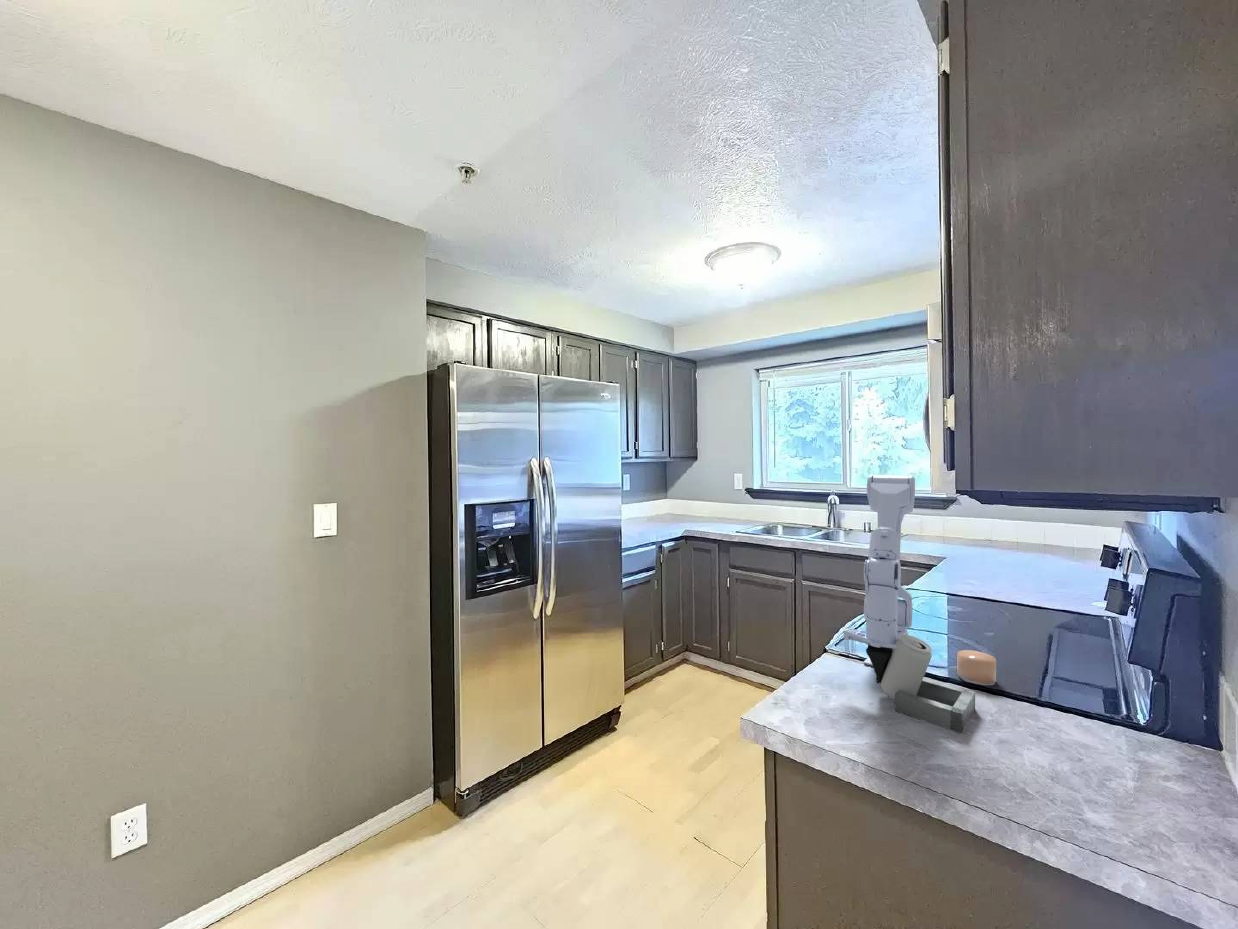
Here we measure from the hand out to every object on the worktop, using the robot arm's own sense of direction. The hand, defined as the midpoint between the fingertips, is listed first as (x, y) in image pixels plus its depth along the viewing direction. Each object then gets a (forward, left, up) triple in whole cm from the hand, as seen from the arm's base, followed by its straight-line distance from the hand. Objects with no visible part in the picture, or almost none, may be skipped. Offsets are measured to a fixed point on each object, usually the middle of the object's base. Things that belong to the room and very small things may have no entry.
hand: (880, 681), depth 107 cm
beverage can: (0, +3, -2) cm, 3 cm away
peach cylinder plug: (-21, +13, -3) cm, 25 cm away
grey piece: (0, +10, -3) cm, 10 cm away
